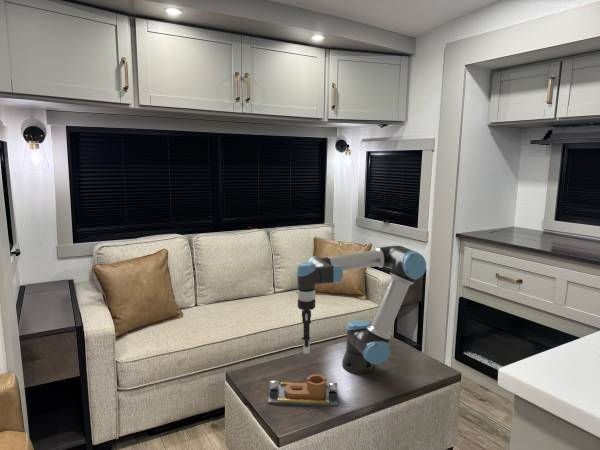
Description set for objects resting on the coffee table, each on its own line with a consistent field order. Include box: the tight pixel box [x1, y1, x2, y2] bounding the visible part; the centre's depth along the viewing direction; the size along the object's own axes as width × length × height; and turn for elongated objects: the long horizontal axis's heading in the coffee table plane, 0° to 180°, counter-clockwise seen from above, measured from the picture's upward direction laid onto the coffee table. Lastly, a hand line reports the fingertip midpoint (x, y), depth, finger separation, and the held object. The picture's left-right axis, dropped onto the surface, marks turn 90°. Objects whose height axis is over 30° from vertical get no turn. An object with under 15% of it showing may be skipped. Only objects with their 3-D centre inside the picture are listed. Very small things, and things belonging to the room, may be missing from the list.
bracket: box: [284, 373, 327, 400], centre depth 176 cm, size 18×8×7 cm, turn 91°
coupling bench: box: [267, 380, 338, 407], centre depth 176 cm, size 29×13×6 cm, turn 87°
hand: (306, 345), depth 176 cm, fingers open, 13 cm apart
